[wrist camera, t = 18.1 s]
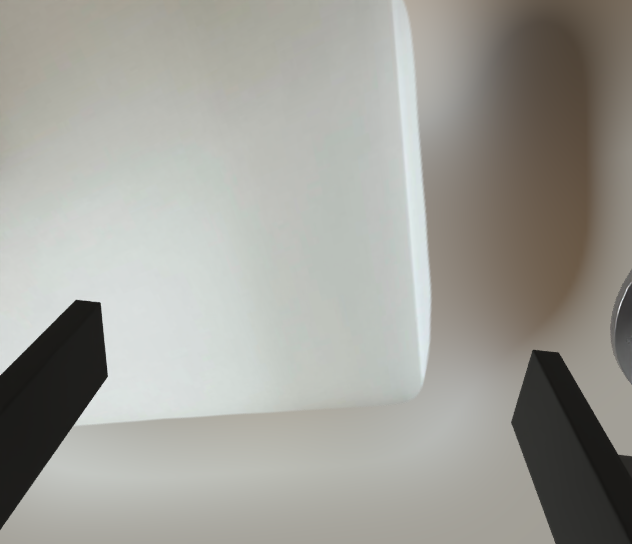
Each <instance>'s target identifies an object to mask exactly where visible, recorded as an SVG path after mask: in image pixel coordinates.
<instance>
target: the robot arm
mask: <svg viewBox="0 0 632 544" xmlns="http://www.w3.org/2000/svg"><path fill="white" fill-rule="evenodd" d="M107 377H108V373H107V363H106V353H105V343H104V333H103V323H102V313H101V303H100V302H91V301H82V300H75V301H74V302H73V303H72V304H71V305H70V306H69V307H68V308H67V309H66V310H65V311H64V312H63V313H62V314H61V315H60V316H59V317H58V318H57V319H56V320H55V321H54V322H53V323H52V324H51V325H50V326H49V327H48V328H47V329H46V330H45V331H44V332H43V333H42V334H41V335H40V336H39V337H38V338H37V339H36V340H35V341H34V342H33V343H32V344H31V345H30V346H29V347H28V348H27V349H26V350H25V351H24V352H23V353H22V354H21V355H20V356H19V357H18V358H17V359H16V360H15V361H14V362H13V363H12V364H11V365H10V366H9V367H8V368H7V369H6V370H5V371H4V372H3V373H2V374H1V375H0V530H1V528H2V527H3V525H4V524H5V522H6V521H7V520H8V518H9V516H10V515H11V514H12V512H13V511H14V510H15V508H16V507H17V505H18V504H19V502H20V501H21V500H22V498H23V497H24V495H25V494H26V492H27V491H28V490H29V488H30V487H31V485H32V484H33V482H34V481H35V480H36V478H37V477H38V475H39V474H40V472H41V471H42V470H43V468H44V467H45V465H46V464H47V462H48V461H49V460H50V458H51V457H52V455H53V454H54V452H55V451H56V450H57V448H58V447H59V445H60V444H61V442H62V441H63V440H64V438H65V437H66V435H67V434H68V432H69V431H70V430H71V428H72V427H73V425H74V424H75V422H76V421H77V420H78V418H79V417H80V415H81V414H82V413H83V411H84V410H85V408H86V407H87V405H88V404H89V403H90V401H91V400H92V398H93V397H94V395H95V394H96V393H97V391H98V390H99V388H100V387H101V385H102V384H103V383H104V381H105V380H106V378H107ZM511 423H512V426H513V428H514V431H515V434H516V436H517V439H518V442H519V445H520V448H521V450H522V453H523V456H524V458H525V461H526V463H527V467H528V469H529V472H530V475H531V477H532V480H533V483H534V486H535V488H536V491H537V494H538V497H539V500H540V502H541V505H542V507H543V510H544V513H545V516H546V518H547V521H548V524H549V527H550V530H551V532H552V535H553V538H554V541H555V543H556V544H632V456H624V455H618V454H617V452H616V450H615V449H614V447H613V445H612V443H611V442H610V440H609V438H608V437H607V435H606V433H605V431H604V430H603V428H602V426H601V425H600V423H599V421H598V420H597V418H596V416H595V414H594V412H593V411H592V409H591V407H590V406H589V404H588V402H587V400H586V399H585V397H584V395H583V394H582V392H581V390H580V388H579V387H578V385H577V383H576V381H575V380H574V378H573V376H572V375H571V373H570V371H569V370H568V368H567V366H566V364H565V363H564V361H563V359H562V357H561V356H560V354H559V353H558V352H548V351H539V350H533V351H532V354H531V358H530V361H529V364H528V368H527V371H526V375H525V378H524V381H523V385H522V388H521V391H520V394H519V398H518V401H517V405H516V408H515V412H514V415H513V419H512V422H511Z"/></svg>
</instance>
